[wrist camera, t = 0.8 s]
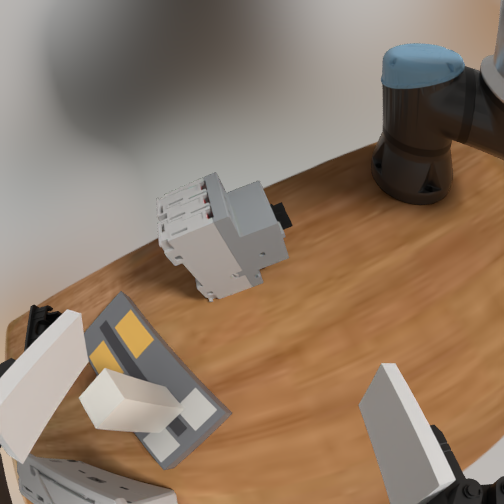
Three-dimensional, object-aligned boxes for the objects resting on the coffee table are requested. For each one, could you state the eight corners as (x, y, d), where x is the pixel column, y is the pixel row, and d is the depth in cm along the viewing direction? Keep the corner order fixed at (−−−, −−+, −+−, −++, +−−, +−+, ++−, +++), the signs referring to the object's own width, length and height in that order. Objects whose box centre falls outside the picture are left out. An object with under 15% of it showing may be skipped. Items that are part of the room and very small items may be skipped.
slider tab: (165, 386, 33) (104, 367, 24) (184, 408, 31) (124, 398, 22) (142, 410, 32) (78, 397, 23) (160, 432, 30) (96, 428, 20)
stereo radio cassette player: (78, 494, 28) (-20, 490, 11) (76, 454, 32) (-25, 438, 16) (185, 532, 23) (82, 577, 7) (183, 485, 28) (70, 510, 11)
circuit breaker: (304, 267, 41) (286, 194, 28) (210, 302, 42) (156, 246, 29) (287, 228, 45) (264, 153, 33) (201, 261, 46) (154, 199, 34)
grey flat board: (129, 297, 46) (120, 290, 44) (232, 413, 32) (225, 412, 30) (87, 344, 43) (77, 340, 41) (173, 468, 29) (163, 470, 27)
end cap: (48, 319, 49) (25, 306, 43) (68, 314, 48) (44, 300, 43) (43, 364, 43) (18, 353, 38) (63, 363, 42) (37, 351, 37)
